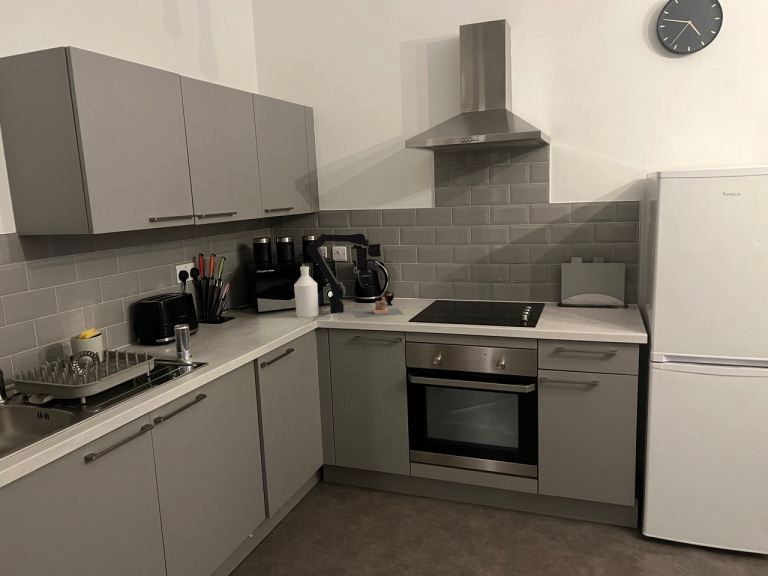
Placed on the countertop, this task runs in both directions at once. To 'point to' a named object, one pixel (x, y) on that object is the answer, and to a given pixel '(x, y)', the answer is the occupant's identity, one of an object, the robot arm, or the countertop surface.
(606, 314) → the countertop surface
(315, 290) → the bottle
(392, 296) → the figurine
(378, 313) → the tile
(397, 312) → the mat
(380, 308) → the cube
